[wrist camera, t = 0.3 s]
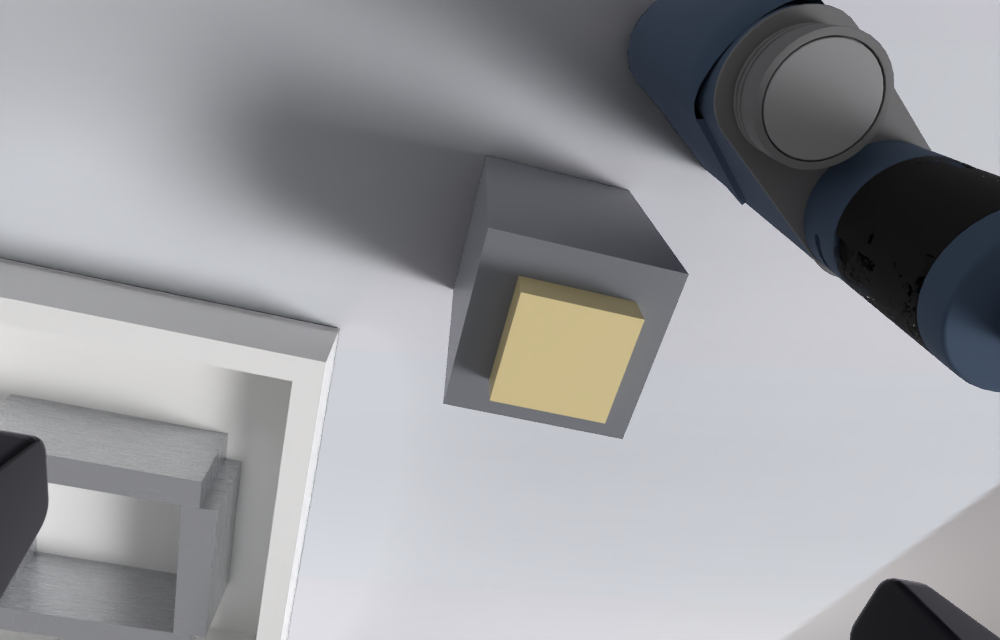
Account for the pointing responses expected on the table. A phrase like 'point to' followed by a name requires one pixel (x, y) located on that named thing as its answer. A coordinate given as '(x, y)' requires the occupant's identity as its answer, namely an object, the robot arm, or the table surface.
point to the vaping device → (833, 161)
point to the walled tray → (177, 422)
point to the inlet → (135, 473)
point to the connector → (558, 301)
